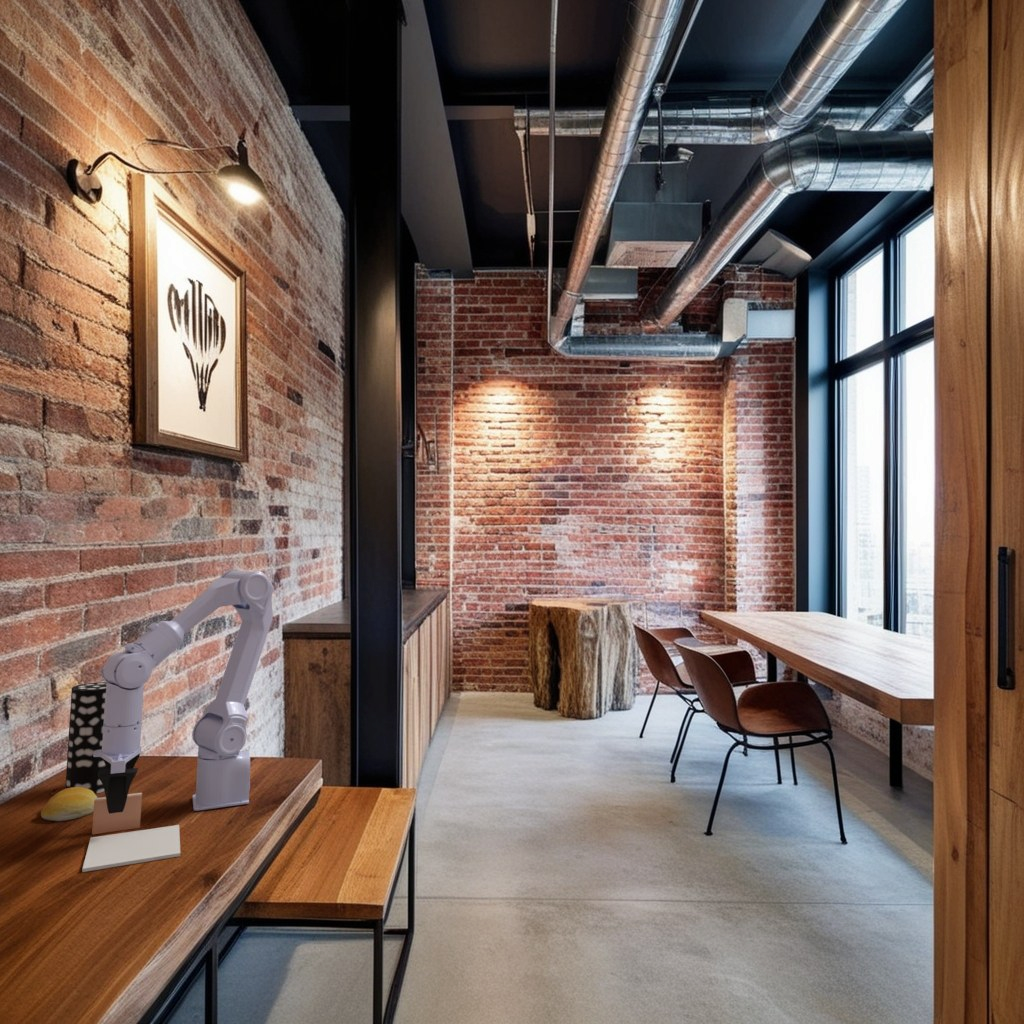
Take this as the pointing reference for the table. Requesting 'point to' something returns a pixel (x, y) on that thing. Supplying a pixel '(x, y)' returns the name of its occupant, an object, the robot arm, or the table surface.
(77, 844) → the table surface
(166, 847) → the mat
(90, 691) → the spotted tube
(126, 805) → the tile
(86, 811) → the bread roll
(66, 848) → the table surface
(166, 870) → the table surface
